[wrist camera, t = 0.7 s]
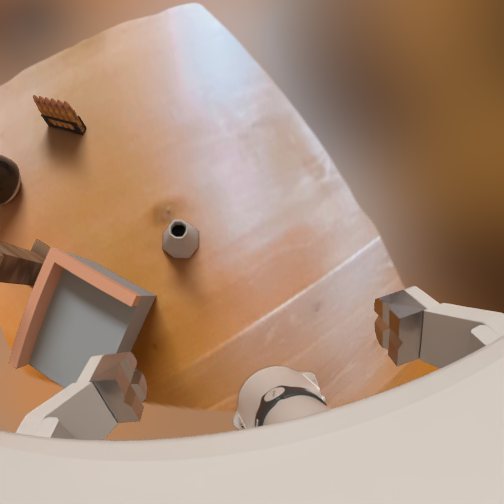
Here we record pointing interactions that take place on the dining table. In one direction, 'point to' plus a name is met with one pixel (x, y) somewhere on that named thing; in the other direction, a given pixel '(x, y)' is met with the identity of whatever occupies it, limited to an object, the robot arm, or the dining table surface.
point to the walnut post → (21, 263)
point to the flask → (180, 239)
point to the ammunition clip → (59, 115)
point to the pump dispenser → (8, 179)
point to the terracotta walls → (43, 296)
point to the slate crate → (86, 325)
